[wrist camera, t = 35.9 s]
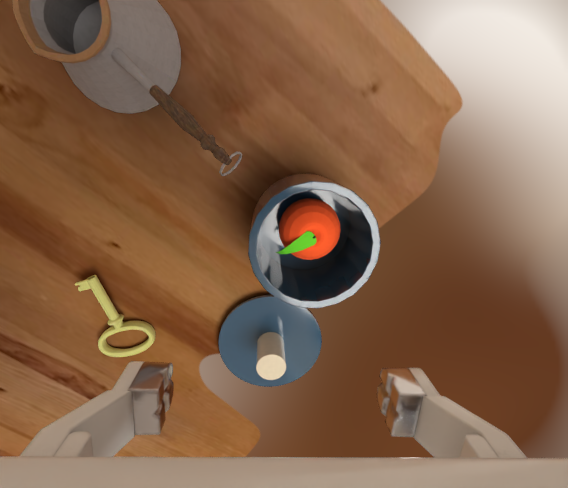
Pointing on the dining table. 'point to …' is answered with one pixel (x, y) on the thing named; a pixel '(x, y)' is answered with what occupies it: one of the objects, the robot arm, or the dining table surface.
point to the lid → (269, 341)
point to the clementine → (309, 229)
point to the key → (116, 321)
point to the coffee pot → (115, 55)
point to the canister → (318, 272)
